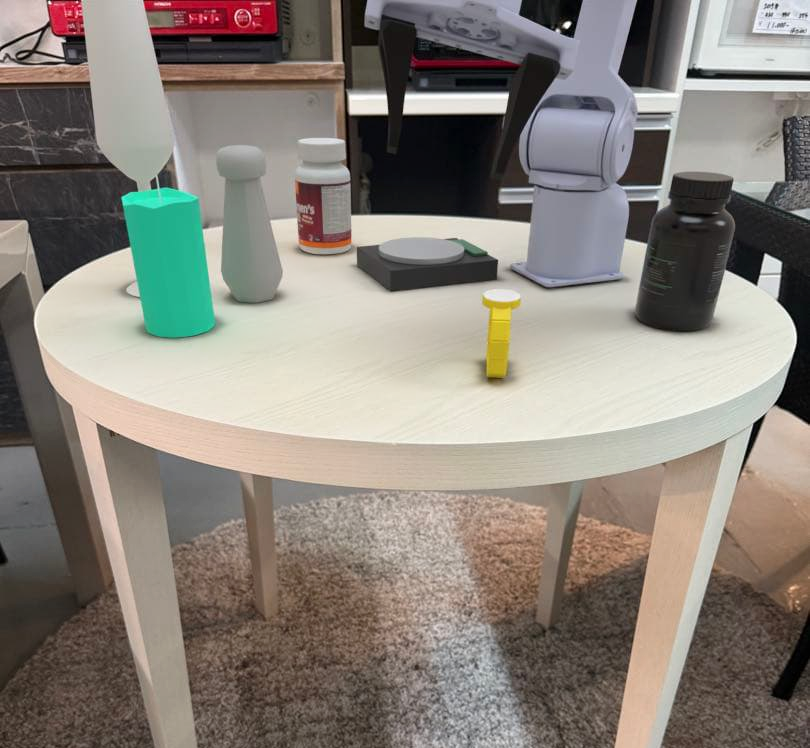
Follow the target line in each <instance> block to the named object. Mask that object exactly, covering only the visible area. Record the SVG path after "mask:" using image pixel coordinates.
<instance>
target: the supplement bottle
mask: <svg viewBox="0 0 810 748" xmlns="http://www.w3.org/2000/svg"><path fill="white" fill-rule="evenodd" d="M733 185H734V177H733V176H731V175H728V174H725V173H718V172H711V171H679V172H675V173H673V175H672V178H671V183H670V188H669V191H668V195H667V198H668V199H669V203H668V205H666V206H664V207H662V208H661V209H659V210H658V211H657V212H656V213H655V214H654V216H653V217H652V219H651V222H650V228H649V232H648V239H647V244H646V248H645V249H646V250H645V254H644V260H643V266H642V271H641V275H640V280H639V287H638V292H637V297H636V303H635V310H634V311H635V312H634V313H635V316H636V318H637V319H638V321H640V322H641V323H642V324H645V325H647V326H649V327H653V328H656V329H660V330H666V331H672V332H673V331H674V332H692V331H698V330H702V329H704V328H706V327H708V326H709V325H710V324H711V323H712V321H713V320H714V316H715V312H716V307H717V304H718V300H719V296H720V291H721V288H722V283H723V279H724V277H725V276H724V275H725V272H726V269H727V263H728V260H729V257H730V252H731V248H732V243H733V239H734V235H735V231H736V223H735V219H734V217H733V216H732V214H731V213H729V212H728V211H727V209H726V205H727V204H729V203H730V202H731V198H732V195H731V193H732V188H733Z"/></svg>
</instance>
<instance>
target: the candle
mask: <svg viewBox="0 0 810 748" xmlns="http://www.w3.org/2000/svg"><path fill="white" fill-rule="evenodd" d="M155 180H156V187H157V188H155V189H151V190H148V191H139V192H138V191H130V192H128V193H127V194H125V195H123V196H121V202H122V209H123V213H124V220H125V223H126V224H125V225H126V230H127V234H128V235H127V236H128V238H129V239H128V240H129V246H130V250H131V257H132V260H133V262H132V263H133V267H134V272H135V277H136V281H137V283H138V289H139V294H140V297H139V298H140V299H139V300H140V304H141V311H142V314H143V315H142V316H143V321H144V327H145V330H146V333H147V334H150V335H153V336H155V337H159V338H160V337H161V338H173V339H176V338H185V337H194V336H197V335H200V334H204V333H208V332H210V331H211V330H212V329H213V328H214V327H215V326H216V320H215V313H214V305H213V297H212V290H211V282H210V275H209V268H208V259H207V253H206V252H207V251H206V246H205V245H206V244H205V237H204V229H203V222H202V216H201V215H202V214H201V207H200V199H199V198H198V196H197V195H193V194H192V193H188V192H186V191H183V190H178V189H174V188H170V187H161V188H160V181H159V176H158V175H157V176H156V177H155Z"/></svg>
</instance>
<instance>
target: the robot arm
mask: <svg viewBox="0 0 810 748" xmlns="http://www.w3.org/2000/svg"><path fill="white" fill-rule="evenodd" d="M522 2H523V0H367V1H366V6H365V11H364V27H365V28H367V29H372V30H376V31H378V41H377V42H378V43H377V47H378V48H377V49H378V56H379V60H380V63H381V69H382V75H383V79H384V80H383V81H384V85H385V87H384V88H385V94H386V102H387V103H386V104H387V117H388V118H387V119H388V121H387V122H388V123H387V124H388V129H387V132H388V133H387V135H388V136H387V146H386V147H387V148H386V152H387V153H390V154H394V155H397V152H398V148H399V144H400V139H401V133H402V125H403V116H404V108H405V107H404V106H405V99H406V98H405V97H406V91H407V85H408V82H409V76H410V69H411V64H412V61H413V56H414V55H413V53H414V49H415V44H416V39H417V38H419V39H422V40H423V39H424V40H427V41H430V42H435V43H438V44H442V45H446V46H449V47H452V48H453V47H454V48H457V49H459V50H460V49H461V50H464V51H468V52H472V53H476V54H479V55H483V56H487V57H491V58H495V59H498V60H502V61H506V62H509V63H513V64H517V65H520V66H519V67H518V69H517V70H516V71H515V76H514V79H513V80H512V82H511V83H510V85H509V90H508V96H507V103H506V108H505V113H504V119H503V124H502V130H501V134H500V137H499V141H498V145H497V147H496V151H495V154H494V158H493V162H492V166H491V171H490V176H489V178H490V179H494V180H499V181H500V180H502V178H503V177H504V176H505V174H506V171H507V168H508V165H509V162H510V159H511V157H512V155H513V152H514V150H515V148H516V145H517V143H518V142H519V144H518V156H519V162H520V165H521V167H522V169H523V171H524V173H525V174H526V175H527V176H528V184H533V194H532V204H531V214H530V222H529V223H530V225H529V234H528V244H527V254H526V261H522V262H513V263H510V264H509V268H510V270H513V271H515V272H517V273H518V274H520V275H522V276H524V277H526V278H528V279H529V280H532V281H533V282H535V283H537V284H539V285H542V286H543V287H545V288H554V287H565V286H573V285H582V284H589V283H597V282H598V283H599V282H606V281H615V280H622V279H624V276H625V274H624V273H622V272H621V271H620V270H621V264H622V260H623V252H624V248H625V247H624V246H625V242H626V241H625V240H626V235H627V229H628V223H629V216H630V205H629V199H628V198H629V197H628V195H627V192H626V191H625V190H624V188H623V187H622V186H621V185H619V183H617V182H618V181H619V180H620V179H621V178H622V177H623V176H624V175H625V173H626V170H627V168H628V165H629V162H630V159H631V155H632V151H633V145H634V137H635V127H636V122H637V118H638V114H639V110H638V105H637V104H638V103H637V98H636V96H635V94H634V92H633V90H632V89H631V88H630V86H629V85H628V84H627V83H626V82H625V81H624V79H623V78H622V77H621V76H620V75H619V70H620V67H621V63H622V59H623V55H624V51H625V48H626V44H627V40H628V35H629V32H630V30H631V29H630V28H631V25H632V20H633V18H634V13H635V9H636V6H637V2H638V0H582V2H581V7H580V11H579V15H578V19H577V23H576V28H575V31H574V35H573V38H572V37H569V36H566V35H564V34H560V33H559V32H557V31H554V30H551V29H549V28H548V27H546V26H543V25H541V24H539V23H536V22H534V21H532V20H530V19H528V18H526V17H523V16H521V15H520V12H521V7H522Z"/></svg>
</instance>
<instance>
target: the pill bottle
mask: <svg viewBox="0 0 810 748" xmlns="http://www.w3.org/2000/svg"><path fill="white" fill-rule="evenodd" d="M297 150H298V151H297V157H298V158H297V159H299V160H301V161H302V164H300V165H298V167H296V169H295V172H294V182H295V183H294V186H295V202H296V203H295V205H296V207H295V208H296V222H297V223H296V224H297V237H298V246H299V248H300V249H301V251H303V252H305V253H308V254H312V255H335V254H342V253H346V252H347V251H349V250H350V249H351V247H352V243H353V242H352V195H351V194H352V193H351V192H352V191H351V190H352V188H351V172H350V170H349V168H348V167H346V166H345V165H344V164H343V163H342V161H344V160H346V159H347V153H346V141H345V139H341V138H333V137H307V138H301V139H298V141H297Z"/></svg>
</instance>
